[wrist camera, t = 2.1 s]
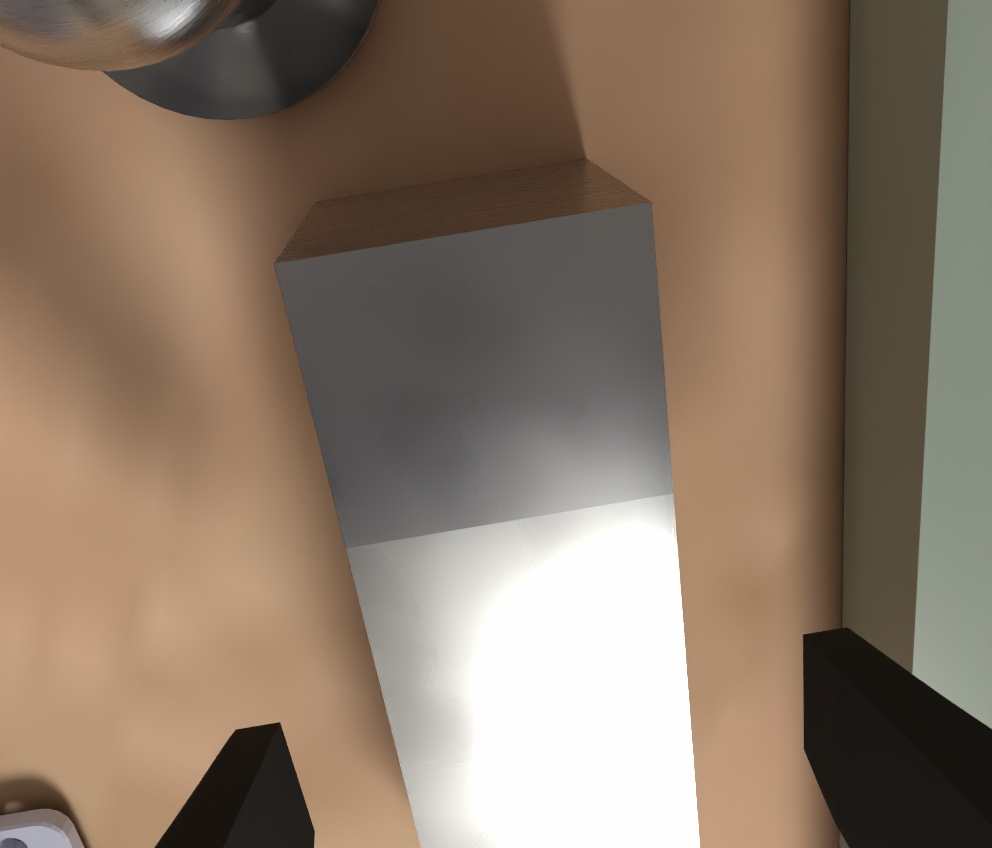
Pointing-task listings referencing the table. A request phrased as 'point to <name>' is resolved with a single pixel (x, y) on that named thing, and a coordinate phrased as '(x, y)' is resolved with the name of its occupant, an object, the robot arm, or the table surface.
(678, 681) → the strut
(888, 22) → the bin tray
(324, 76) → the stud post
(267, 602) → the table surface
